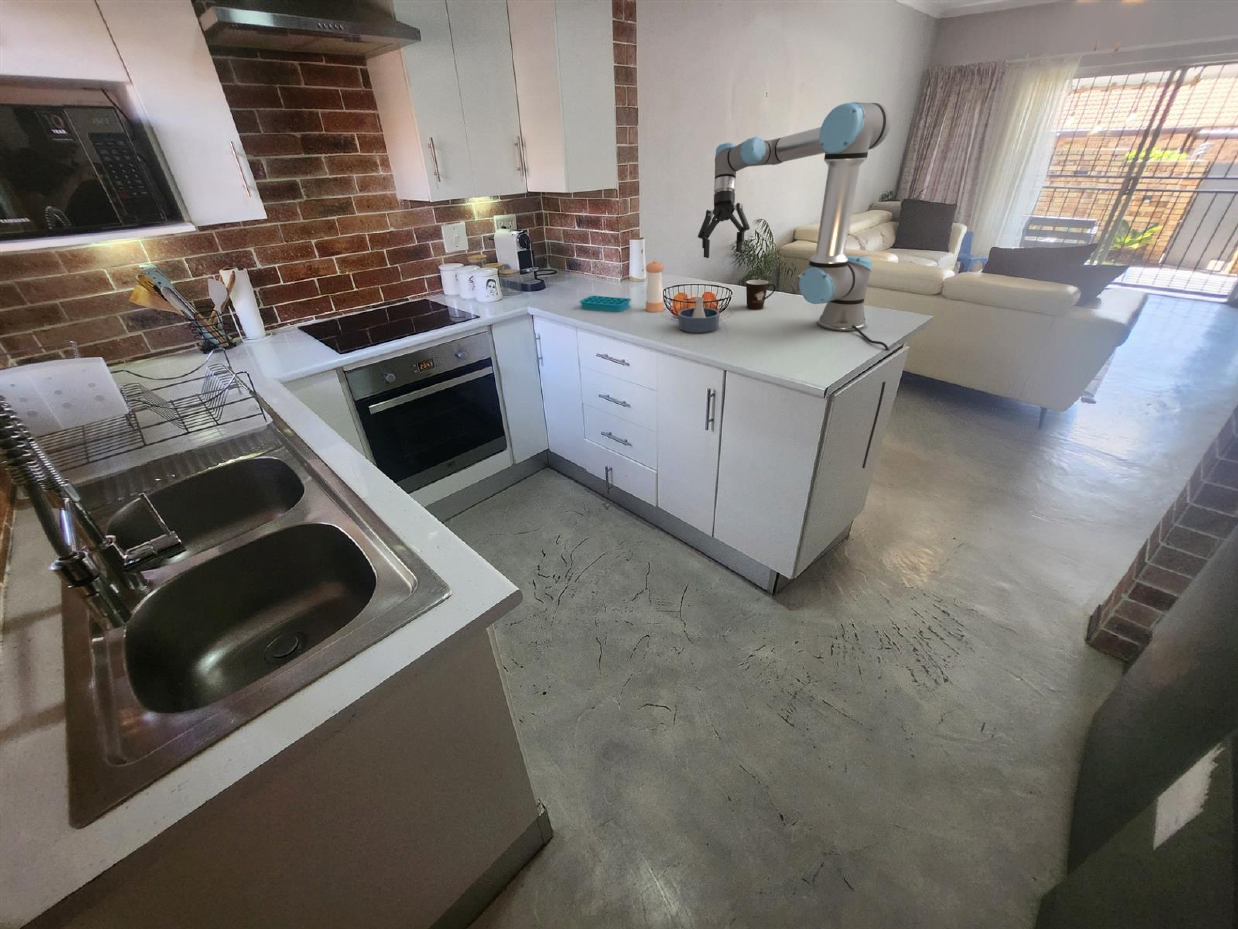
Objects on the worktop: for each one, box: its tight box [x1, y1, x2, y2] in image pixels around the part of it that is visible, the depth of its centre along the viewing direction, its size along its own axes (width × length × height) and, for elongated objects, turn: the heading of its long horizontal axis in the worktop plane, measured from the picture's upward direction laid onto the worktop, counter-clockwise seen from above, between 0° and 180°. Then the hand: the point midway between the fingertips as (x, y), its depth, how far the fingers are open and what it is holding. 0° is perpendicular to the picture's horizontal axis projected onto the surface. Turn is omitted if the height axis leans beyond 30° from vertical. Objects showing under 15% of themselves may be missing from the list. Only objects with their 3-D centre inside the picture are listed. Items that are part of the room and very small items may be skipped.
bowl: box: [677, 307, 721, 334], centre depth 183 cm, size 15×15×6 cm
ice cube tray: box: [578, 295, 632, 313], centre depth 215 cm, size 12×20×3 cm, turn 62°
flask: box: [691, 296, 706, 318], centre depth 182 cm, size 7×7×10 cm
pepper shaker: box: [645, 260, 665, 313], centre depth 204 cm, size 7×7×19 cm
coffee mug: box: [745, 279, 776, 311], centre depth 202 cm, size 12×9×10 cm
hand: (722, 254), depth 187 cm, fingers open, 13 cm apart
